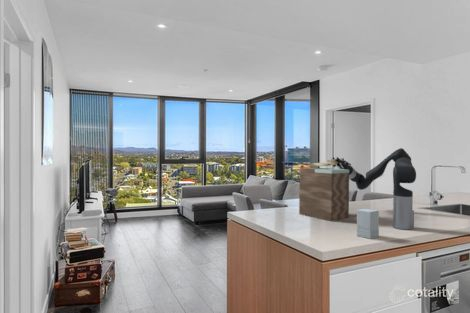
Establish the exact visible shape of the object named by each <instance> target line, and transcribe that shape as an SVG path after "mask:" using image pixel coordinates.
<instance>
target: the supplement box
mask: <svg viewBox="0 0 470 313" xmlns="http://www.w3.org/2000/svg"><path fill="white" fill-rule="evenodd" d="M379 213H380V212H379V210H378V209H377V210H376V209H370V208H362V209H361V208H360V209H357V210H356V237H362V238H365V239H369V240H370V239H375V238H379V236H380V235H379V234H380V233H379V232H380V229H379V228H380V226H379V225H380V224H379V223H380V222H379V221H380V220H379V219H380V218H379V217H380V216H379V215H380V214H379Z"/></svg>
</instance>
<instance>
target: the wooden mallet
mask: <svg viewBox="0 0 470 313" xmlns="http://www.w3.org/2000/svg"><path fill="white" fill-rule="evenodd" d="M338 158H339V157H338ZM339 159H340V160H342V161H343V160H345V159H344V158H343V157H342V158H341V157H340V158H339ZM336 163H338V162H337V161H336V158H335V159H332V160H331V159H327V161H322V162H321V161H320V162H315V163H310V164H309V167H328V166H333V165H336Z"/></svg>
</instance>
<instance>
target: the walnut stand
mask: <svg viewBox="0 0 470 313" xmlns="http://www.w3.org/2000/svg"><path fill="white" fill-rule="evenodd" d="M298 190H299V198H298V200H299V201H298V202H299V203H298V206H299V209H298V210H299V212H298V213H299V214H298V215H302V216H306V217H309V218H313V219H320V220H324V221H327V222H336V221H342V220H348V219H349V214H350V213H349V212H350V209H349V208H350V206H349V205H350V200H349V199H350V179H349V170H348V169H340V168H325V167H303V168H302V167H300V168H299V189H298Z"/></svg>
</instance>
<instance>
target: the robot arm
mask: <svg viewBox="0 0 470 313" xmlns="http://www.w3.org/2000/svg"><path fill="white" fill-rule="evenodd" d="M332 159H336V161H337V162H338V163H336V165H332V167H333V168H336V167H337V169H348V170H349V181H351V182H354V183H355V185H356V188H357V189H359V190H360V191H362V190H366V189H367V188H369V187H370V185H371V184H373V182H374V181H375V180H377V179H378V178H380V177H381V176H383V175H384V173H385V170H386V168H387V166H388V164H389V163H390V162H391V161H393V162H394V167H393V169H392V181H393V191H392V193H393V194H392V206H393V207H392V227H393V228H394V229H398V230H412V229H414V228H415V210H413V194H414V193H413V191H412V190H410V189H408V188H405V187H403V186H402V185H401V184H412V183H415V181H416V179H417V171H416V168H415V167H414V165H413V162H412V157H411V156H410V155H409V154H408V153H407V151H405V149H404V148H402V147H400V148H398V149H396V150H394V151H393V152H392V153H391V154H389V155H388V156H386V158H384V159H383V160H382V161H381V162H380V163H378V164H377V165H375V166H374V167H373V168H372V169H370V170H368V171H367V172H366V173H365V176H364V175H363V174H362V173H359V172H358V171H357V170H356V168H354V167H353V166H352V164H351V163H350V162H349V161H346V160H345V159H344V160H343V161H342V160H340V159H339V157H338V156H337V157H334V156H332V157H331V158H330V160H332Z"/></svg>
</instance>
